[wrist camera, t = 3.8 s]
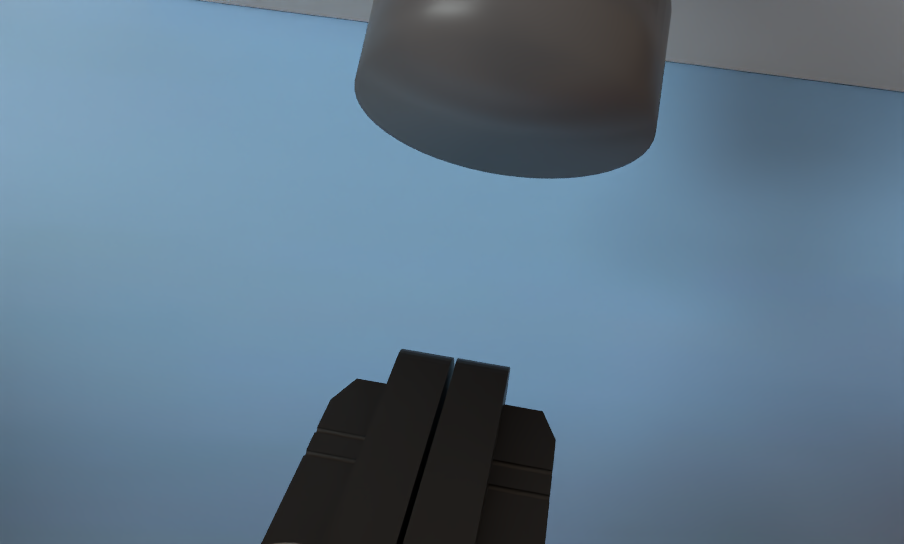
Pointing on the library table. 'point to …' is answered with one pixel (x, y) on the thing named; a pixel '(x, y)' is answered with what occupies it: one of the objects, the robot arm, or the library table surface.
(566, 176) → the knob
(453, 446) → the robot arm
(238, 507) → the library table surface
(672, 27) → the console
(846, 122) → the library table surface
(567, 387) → the library table surface
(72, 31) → the library table surface
